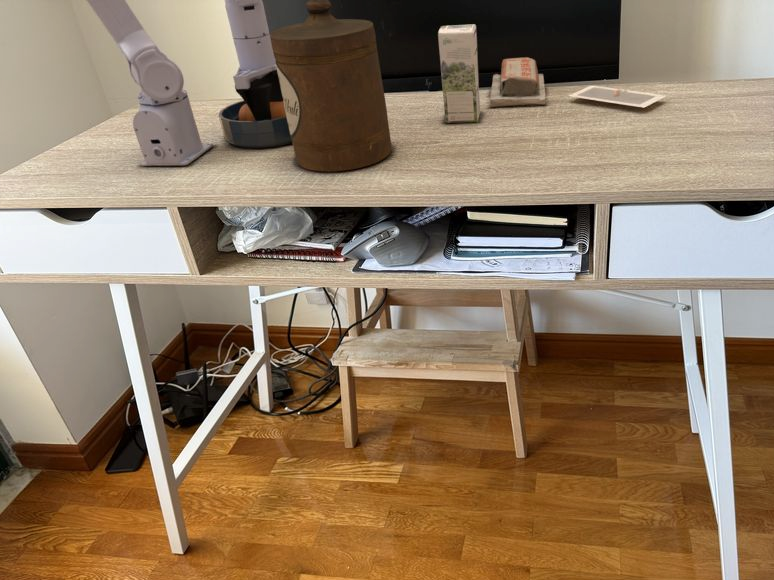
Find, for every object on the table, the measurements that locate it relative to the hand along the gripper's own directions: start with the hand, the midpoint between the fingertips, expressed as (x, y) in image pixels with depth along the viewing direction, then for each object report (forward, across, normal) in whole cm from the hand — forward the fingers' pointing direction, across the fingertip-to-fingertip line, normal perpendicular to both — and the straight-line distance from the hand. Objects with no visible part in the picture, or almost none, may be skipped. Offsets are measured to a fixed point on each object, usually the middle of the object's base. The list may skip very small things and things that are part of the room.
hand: (271, 121), depth 115 cm
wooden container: (+2, -11, -16) cm, 20 cm away
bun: (+1, 0, 0) cm, 1 cm away
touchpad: (+2, +15, -58) cm, 60 cm away
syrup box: (+2, +7, -32) cm, 33 cm away
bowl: (+2, 0, 0) cm, 2 cm away
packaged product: (+2, +22, -40) cm, 46 cm away
